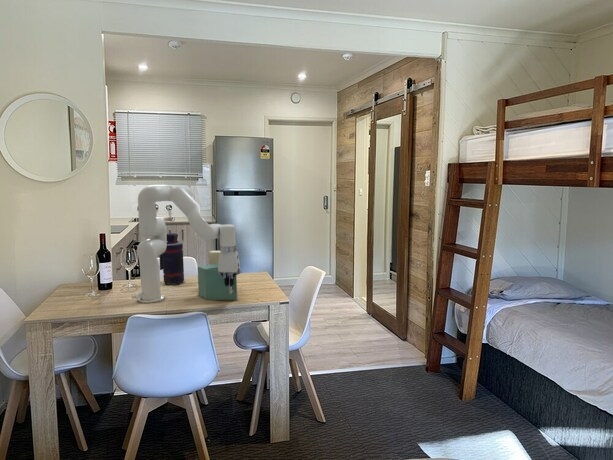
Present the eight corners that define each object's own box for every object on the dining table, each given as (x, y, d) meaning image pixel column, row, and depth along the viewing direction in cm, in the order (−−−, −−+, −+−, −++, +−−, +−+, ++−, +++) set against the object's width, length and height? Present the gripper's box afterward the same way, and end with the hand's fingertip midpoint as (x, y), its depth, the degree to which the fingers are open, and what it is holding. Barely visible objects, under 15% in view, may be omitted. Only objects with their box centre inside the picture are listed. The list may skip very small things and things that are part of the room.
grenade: (187, 281, 273) (185, 232, 270) (179, 285, 262) (176, 235, 258) (166, 280, 275) (163, 232, 272) (157, 285, 264) (154, 234, 260)
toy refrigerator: (226, 285, 260) (225, 250, 258) (222, 288, 253) (221, 252, 251) (213, 285, 261) (211, 250, 259) (209, 288, 254) (207, 252, 251)
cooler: (234, 294, 241) (233, 265, 239) (206, 299, 232) (205, 269, 230) (225, 290, 249) (224, 262, 247) (198, 295, 240) (197, 266, 238)
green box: (234, 302, 224) (233, 272, 222) (203, 302, 225) (202, 271, 224) (237, 299, 230) (236, 269, 228) (207, 299, 231) (206, 269, 230)
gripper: (245, 248, 223) (246, 284, 225) (215, 248, 225) (216, 283, 227) (241, 250, 215) (242, 288, 218) (210, 250, 218) (211, 287, 220)
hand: (229, 285), depth 222 cm, fingers closed on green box
